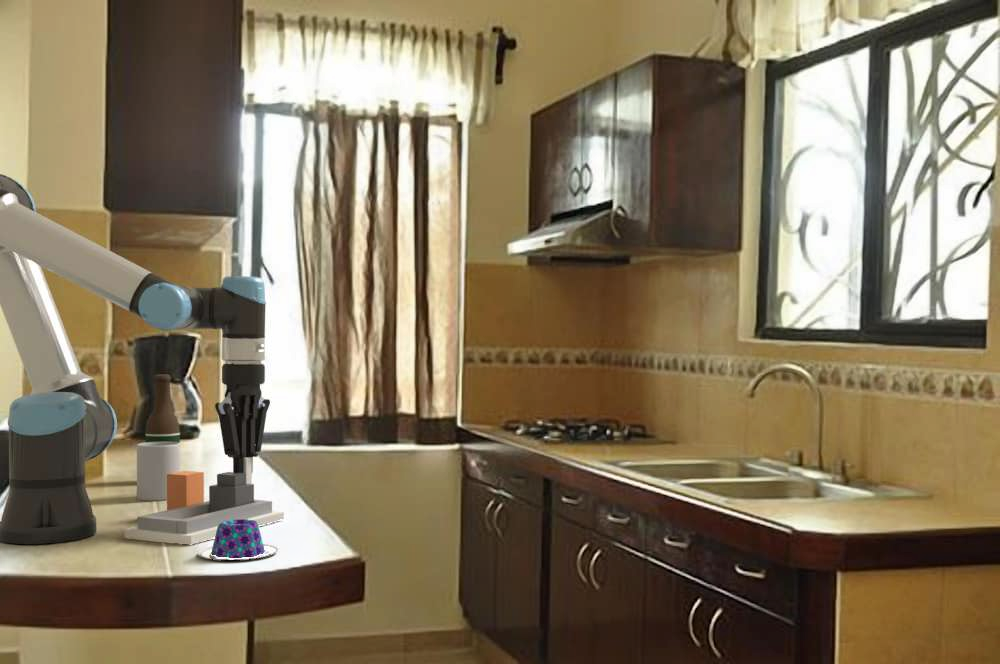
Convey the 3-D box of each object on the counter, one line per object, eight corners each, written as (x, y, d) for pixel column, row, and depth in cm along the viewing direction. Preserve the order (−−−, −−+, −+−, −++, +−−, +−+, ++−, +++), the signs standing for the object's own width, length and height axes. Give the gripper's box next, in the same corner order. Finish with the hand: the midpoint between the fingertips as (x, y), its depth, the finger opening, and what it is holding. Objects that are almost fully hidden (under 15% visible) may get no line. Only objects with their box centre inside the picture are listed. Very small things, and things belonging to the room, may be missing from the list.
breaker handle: (235, 516, 187) (235, 476, 187) (209, 514, 190) (209, 474, 190) (254, 512, 192) (253, 472, 192) (228, 510, 194) (227, 471, 194)
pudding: (230, 545, 173) (230, 513, 173) (293, 551, 168) (293, 518, 168) (180, 560, 162) (180, 525, 162) (246, 567, 157) (246, 531, 157)
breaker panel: (191, 545, 171) (191, 523, 171) (124, 538, 177) (124, 516, 177) (283, 520, 193) (283, 501, 193) (221, 514, 199) (221, 495, 199)
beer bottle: (153, 485, 236) (153, 375, 236) (138, 481, 242) (138, 374, 242) (186, 482, 241) (186, 374, 241) (171, 478, 247) (171, 373, 247)
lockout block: (186, 519, 195) (186, 475, 194) (166, 517, 197) (166, 473, 196) (203, 515, 199) (203, 472, 199) (184, 513, 201) (184, 470, 201)
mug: (178, 500, 216) (178, 445, 216) (133, 501, 214) (133, 446, 214) (184, 491, 228) (184, 439, 228) (142, 492, 226) (141, 440, 226)
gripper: (237, 363, 187) (236, 500, 187) (282, 361, 198) (281, 490, 199) (202, 363, 190) (202, 497, 190) (249, 361, 202) (248, 487, 202)
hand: (242, 493), depth 194 cm, fingers closed
